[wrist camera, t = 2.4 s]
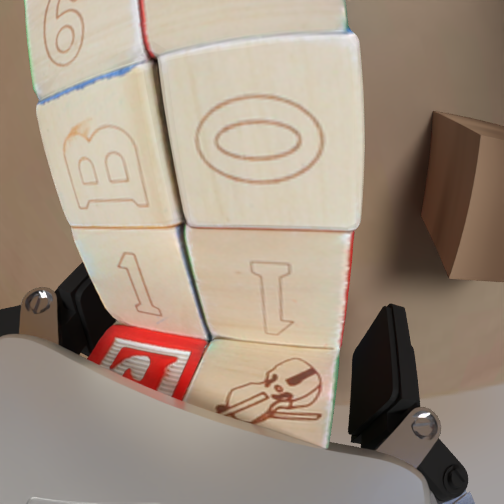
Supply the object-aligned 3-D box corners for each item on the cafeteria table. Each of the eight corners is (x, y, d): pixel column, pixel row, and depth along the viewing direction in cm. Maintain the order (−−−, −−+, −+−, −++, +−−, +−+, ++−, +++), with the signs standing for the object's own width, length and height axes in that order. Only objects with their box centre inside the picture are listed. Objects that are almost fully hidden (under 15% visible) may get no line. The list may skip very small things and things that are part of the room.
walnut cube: (521, 131, 9) (583, 166, 5) (502, 224, 12) (545, 284, 8) (432, 110, 11) (480, 134, 7) (420, 214, 13) (449, 278, 9)
